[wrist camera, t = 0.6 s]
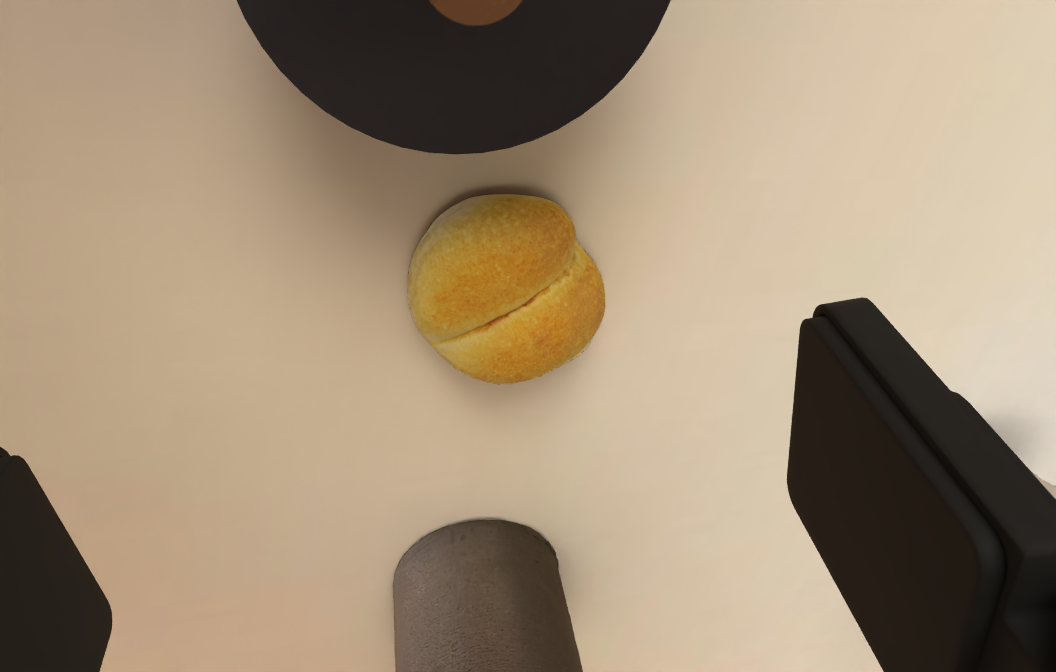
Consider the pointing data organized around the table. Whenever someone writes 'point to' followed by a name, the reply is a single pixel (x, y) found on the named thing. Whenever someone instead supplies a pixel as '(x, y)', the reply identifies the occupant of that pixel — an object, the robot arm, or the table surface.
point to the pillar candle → (482, 603)
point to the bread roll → (505, 288)
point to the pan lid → (454, 63)
